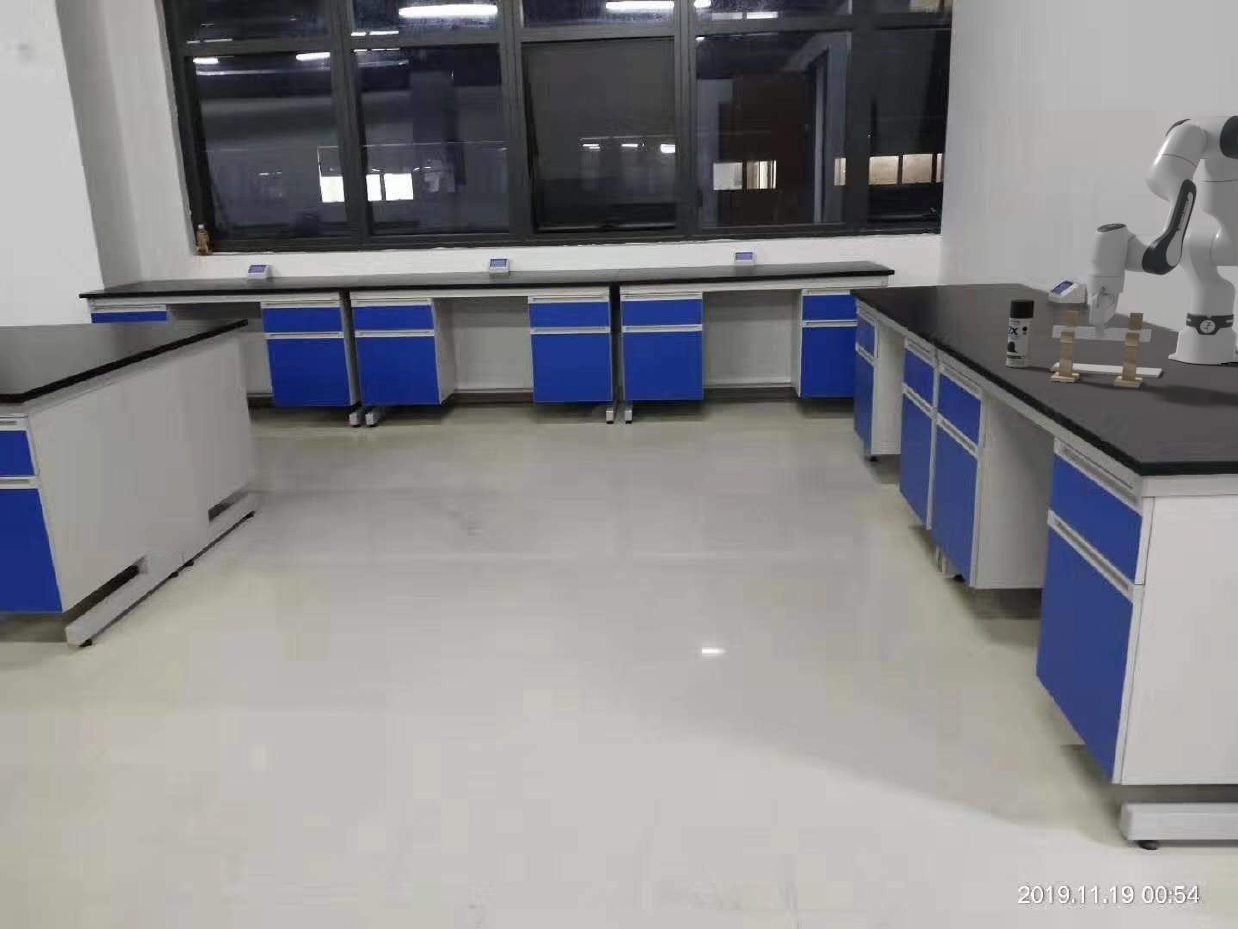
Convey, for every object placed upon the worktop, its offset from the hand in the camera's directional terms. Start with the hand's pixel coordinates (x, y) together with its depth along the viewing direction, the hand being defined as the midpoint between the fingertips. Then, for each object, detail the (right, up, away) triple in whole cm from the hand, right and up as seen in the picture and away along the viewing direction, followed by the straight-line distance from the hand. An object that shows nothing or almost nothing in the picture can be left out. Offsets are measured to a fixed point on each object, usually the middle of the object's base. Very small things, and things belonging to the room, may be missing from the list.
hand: (1100, 336), depth 261 cm
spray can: (-11, -5, +29) cm, 31 cm away
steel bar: (0, -1, 0) cm, 1 cm away
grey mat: (+10, -8, +16) cm, 20 cm away
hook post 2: (+7, -13, -1) cm, 15 cm away
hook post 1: (-6, -11, +8) cm, 15 cm away
